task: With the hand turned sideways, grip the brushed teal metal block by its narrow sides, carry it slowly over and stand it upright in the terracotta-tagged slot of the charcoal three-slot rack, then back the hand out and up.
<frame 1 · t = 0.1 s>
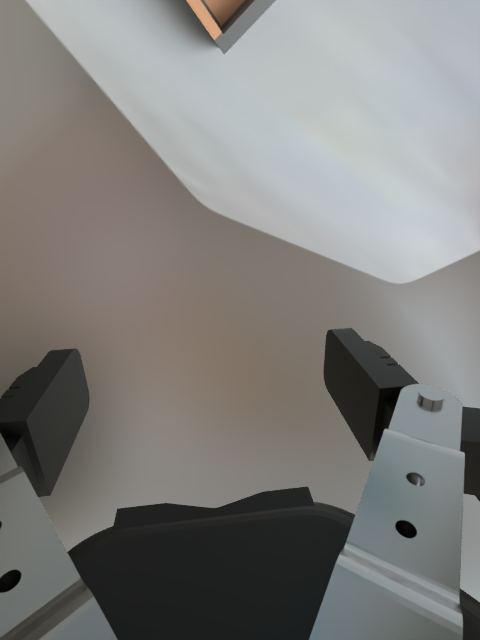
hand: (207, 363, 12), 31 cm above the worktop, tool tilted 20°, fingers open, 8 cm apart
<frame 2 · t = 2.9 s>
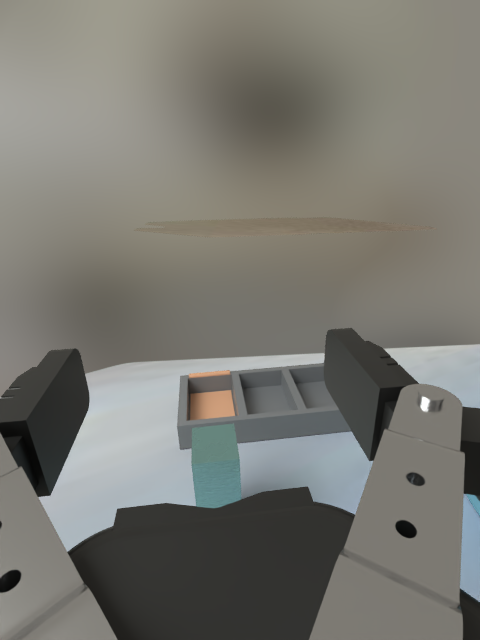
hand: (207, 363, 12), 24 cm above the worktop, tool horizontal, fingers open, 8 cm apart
slot rack: (266, 411, 48), on the worktop
brushed teal metal block: (221, 530, 32), on the worktop
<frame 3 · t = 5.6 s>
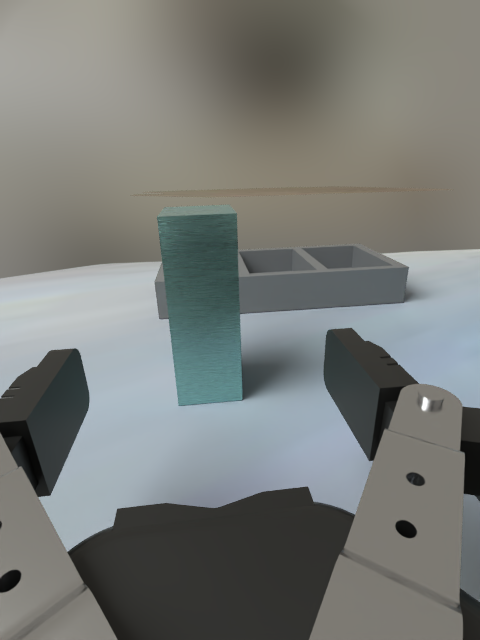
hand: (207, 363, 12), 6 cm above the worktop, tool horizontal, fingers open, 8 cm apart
slot rack: (273, 291, 37), on the worktop
brushed teal metal block: (209, 383, 22), on the worktop
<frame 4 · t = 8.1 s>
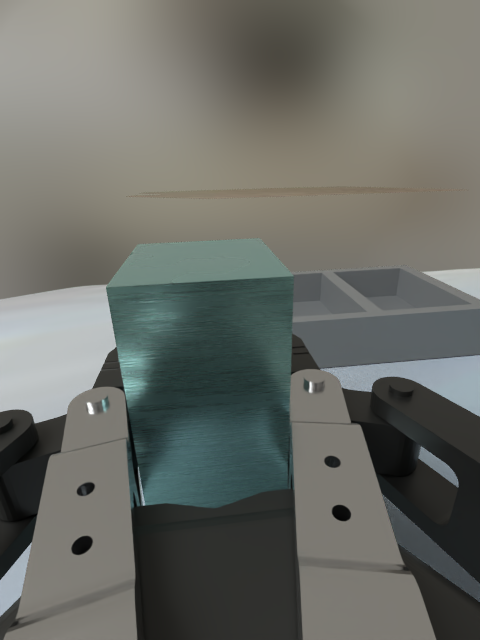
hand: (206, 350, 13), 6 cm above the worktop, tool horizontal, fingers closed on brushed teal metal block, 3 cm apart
slot rack: (299, 332, 28), on the worktop
brushed teal metal block: (221, 542, 13), on the worktop, touching gripper
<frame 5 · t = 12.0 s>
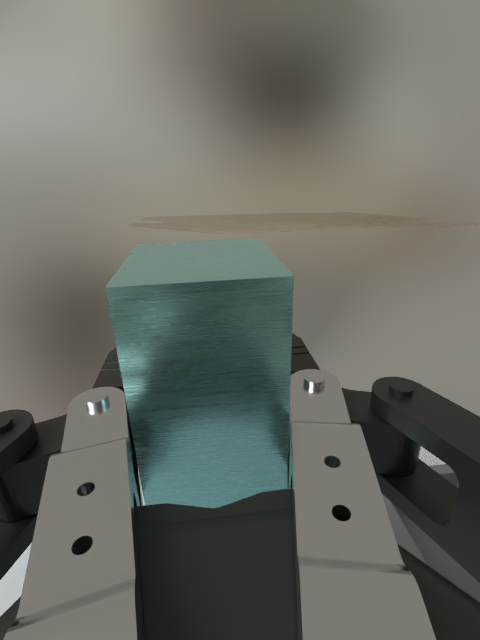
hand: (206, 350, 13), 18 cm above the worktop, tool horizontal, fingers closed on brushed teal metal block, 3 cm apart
slot rack: (343, 586, 22), on the worktop
brushed teal metal block: (221, 543, 13), point 12 cm above the worktop, touching gripper
when the fingers open (8 cm above the worktop, at t = 16.2 s): brushed teal metal block drops 1 cm, resting on slot rack.
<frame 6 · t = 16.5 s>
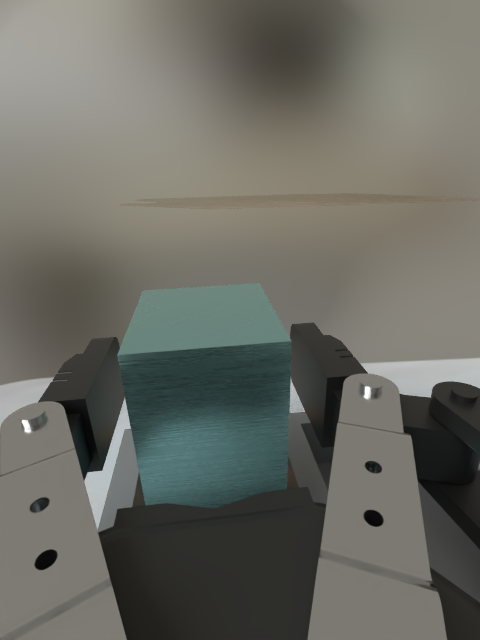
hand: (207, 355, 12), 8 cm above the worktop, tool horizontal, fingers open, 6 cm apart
slot rack: (403, 560, 14), on the worktop
brushed teal metal block: (222, 567, 13), point 1 cm above the worktop, touching slot rack
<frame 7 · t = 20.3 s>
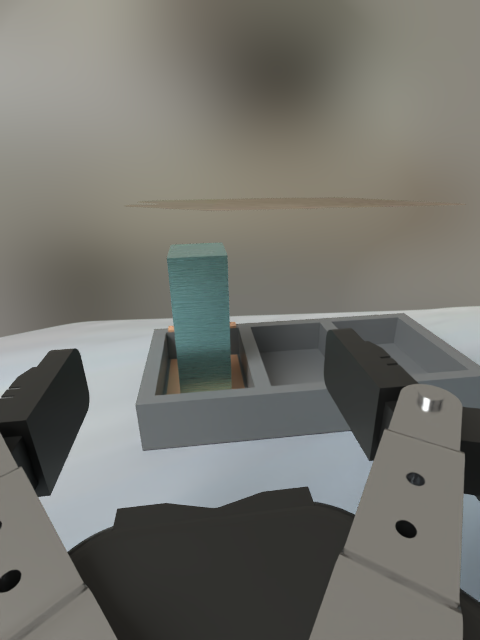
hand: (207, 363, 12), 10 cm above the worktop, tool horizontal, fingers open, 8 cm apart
slot rack: (297, 387, 28), on the worktop
brushed teal metal block: (205, 384, 27), point 1 cm above the worktop, touching slot rack
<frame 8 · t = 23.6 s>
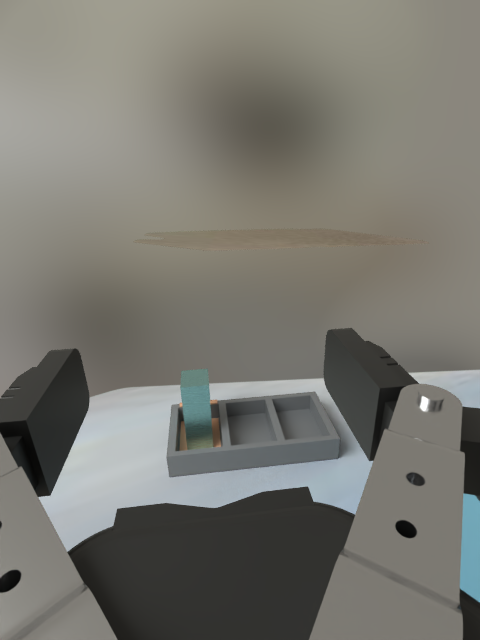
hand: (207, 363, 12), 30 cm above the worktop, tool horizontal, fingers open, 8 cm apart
slot rack: (249, 439, 52), on the worktop
brushed teal metal block: (200, 439, 51), point 1 cm above the worktop, touching slot rack
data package: (469, 575, 34), on the worktop
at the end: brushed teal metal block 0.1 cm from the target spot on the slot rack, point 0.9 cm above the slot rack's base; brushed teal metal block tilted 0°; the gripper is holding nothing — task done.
